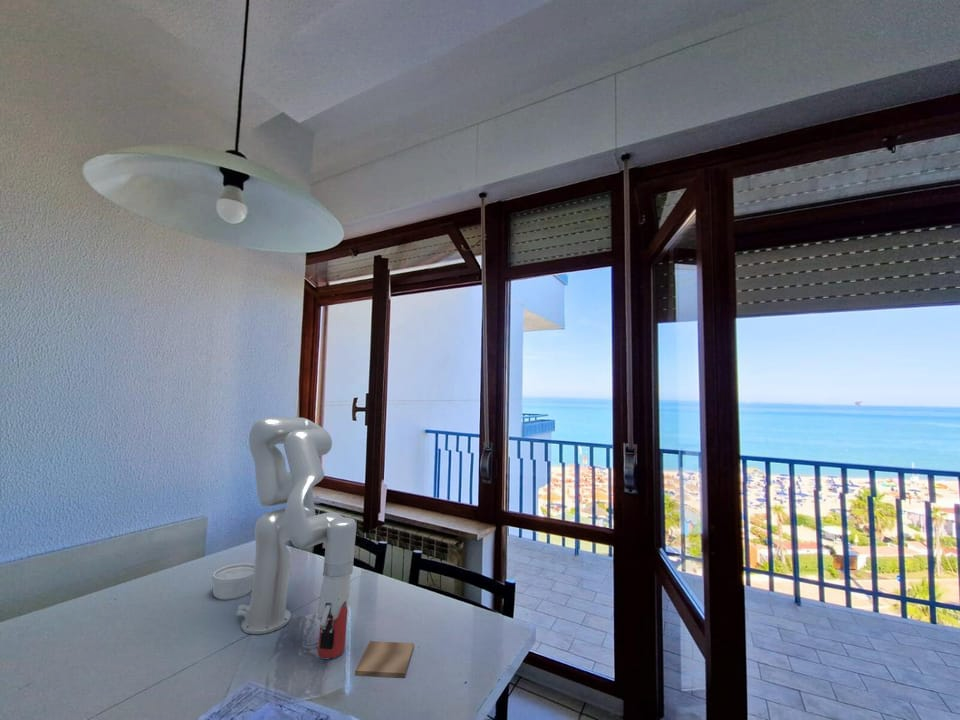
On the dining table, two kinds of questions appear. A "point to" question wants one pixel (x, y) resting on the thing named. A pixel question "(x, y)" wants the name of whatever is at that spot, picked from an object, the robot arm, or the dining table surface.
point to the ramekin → (233, 581)
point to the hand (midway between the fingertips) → (332, 639)
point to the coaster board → (385, 659)
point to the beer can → (336, 635)
